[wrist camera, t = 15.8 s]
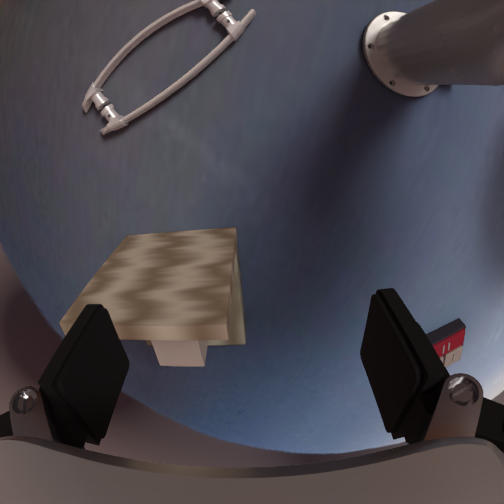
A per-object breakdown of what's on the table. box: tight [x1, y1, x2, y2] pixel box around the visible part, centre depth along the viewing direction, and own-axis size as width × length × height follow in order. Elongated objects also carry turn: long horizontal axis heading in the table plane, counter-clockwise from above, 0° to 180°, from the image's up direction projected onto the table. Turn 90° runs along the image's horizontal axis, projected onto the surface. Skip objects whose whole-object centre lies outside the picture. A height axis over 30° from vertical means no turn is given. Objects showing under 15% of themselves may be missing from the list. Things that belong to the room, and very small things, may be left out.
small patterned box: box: [426, 318, 466, 368], centre depth 52 cm, size 11×4×15 cm
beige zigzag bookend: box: [59, 227, 246, 345], centre depth 36 cm, size 16×18×20 cm
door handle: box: [82, 0, 256, 135], centre depth 30 cm, size 3×10×25 cm
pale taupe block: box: [151, 340, 208, 366], centre depth 38 cm, size 6×13×8 cm, turn 4°
